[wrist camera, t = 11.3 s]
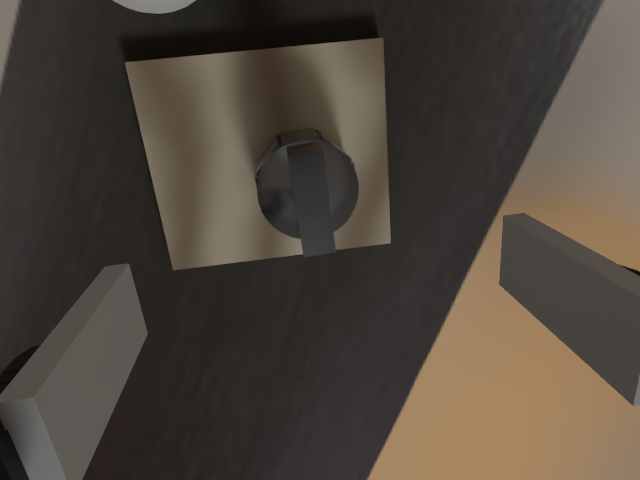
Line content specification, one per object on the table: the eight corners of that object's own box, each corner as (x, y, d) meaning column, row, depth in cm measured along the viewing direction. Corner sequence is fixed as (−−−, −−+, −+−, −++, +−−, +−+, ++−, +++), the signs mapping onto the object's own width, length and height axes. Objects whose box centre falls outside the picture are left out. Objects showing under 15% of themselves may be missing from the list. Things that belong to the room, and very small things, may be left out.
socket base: (176, 263, 33) (163, 290, 29) (130, 62, 28) (106, 61, 24) (386, 237, 34) (402, 260, 30) (378, 38, 29) (396, 33, 25)
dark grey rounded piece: (251, 136, 29) (245, 158, 22) (341, 123, 30) (363, 140, 23) (267, 221, 32) (266, 266, 24) (350, 208, 32) (373, 249, 25)
